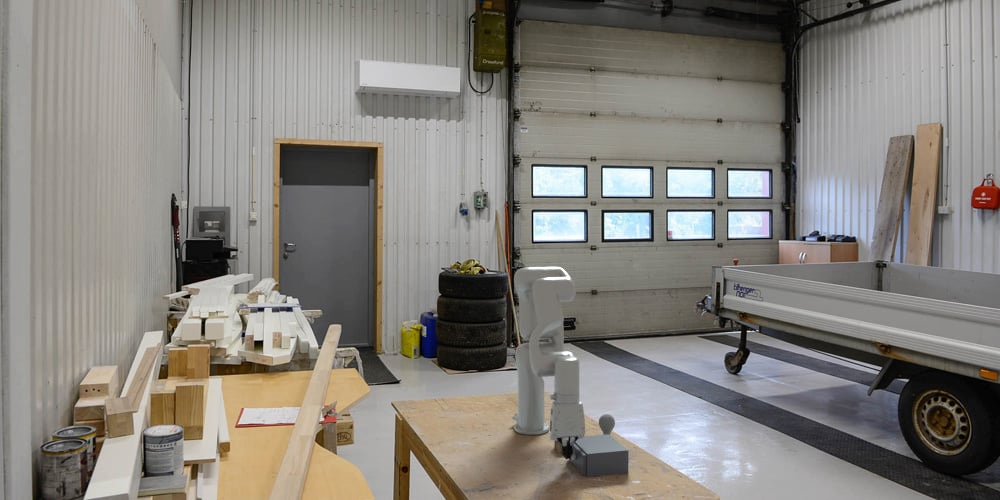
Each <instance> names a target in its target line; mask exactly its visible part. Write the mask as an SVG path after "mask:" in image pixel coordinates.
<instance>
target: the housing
mask: <svg viewBox="0 0 1000 500" xmlns="http://www.w3.org/2000/svg"><path fill="white" fill-rule="evenodd" d="M575 444H576V445H577V446H578V447H579V448H580V449H581V450H582V451H583V452H584V453H585V454H586V475H584V477H586V478H594V477H604V476H607V477H608V476H614V475H615V476H616V475H625V474H629V449H628V448H627V447H625V446H624V445H623V444H622V443H621V442H619V441H618V440H617V439H616V438H614V437H613V436H612V435H611V433H610V434H607V435H603V434H597V435H596V434H595V435H584V437H583V438H580V439H578V440H577V441H576V442H575Z"/></svg>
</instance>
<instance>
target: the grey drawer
mask: <svg viewBox="0 0 1000 500" xmlns="http://www.w3.org/2000/svg"><path fill="white" fill-rule="evenodd" d="M567 442H568V439H567ZM567 460H568V461H569V462H570V463H571V464H572V465H573V466H574V467H575V468H576V469H577V470H578V471H579V473H581V474H582V476H584V477H585V475H586V454H585V453H584V452H583V451H582V450H581V449H580V448H579V447H578V446H577V445H576V444H575V443H574V445H573V455H571V459H569V458H568V459H567Z"/></svg>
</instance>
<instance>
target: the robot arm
mask: <svg viewBox="0 0 1000 500" xmlns="http://www.w3.org/2000/svg"><path fill="white" fill-rule="evenodd" d="M513 277H514V278H513V282H514V287H515V290H516V294H517V298H518V303H519V305H518V308H519V310H518V311H519V313H518V319H519V320H518V321H519V322H518V323H519V324H518V327H519V328H518V329H519V335H520V336H521V337H522V339H524V340H529V342H526V343H525V342H524V343H521V344H519V345H518V346H517V347H516V349H515V352H514V353H515V354H514V355H515V362H516V369H517V397H518V398H517V402H518V403H517V405H518V407H517V409H518V411H517V412H516V413H514V415H513V416H512V417H511V419H512V420H513V421H516V423H515V425H514V426H513V429H514V431H515V432H517V433H518V434H522V435H529V436H534V435H535V436H537V435H542V434H546V433H547V432H548V431H550V433H549V434H550V435H549V439H550V440H551V441H554V440H556V441H559V442H560V443H561V444H562V453H561V456H563V458H564V459H565V460H569V459H571V455H573V445H574V443H575V442H576V441H577V440H578V439H580V438H583V437H584V436H585V434H586V422H585V421H586V419H585V411H584V405H583V402H582V401H581V400H580V360H579V359H578V358H577V357H576V356H575V355H574V353H573V352H571V351H568V350H567V351H564V344H565V343H564V340H565V339H564V336H565V335H564V320H565V318H564V314H563V309H562V304H561V303H567V302H568V303H569V302H572V301H573V300H575V297H576V295H577V294H576V286H575V283H574V280H573V279H572V276H570V275H569V274H568V272H567V271H566V270H565V269H564V268H562V267H560V266H528V267H521V268H519V269H517V270H516V272H515V274H514V276H513ZM546 339H547V340H549V341H541V342H540V340H546ZM544 377H545V378H548V377H554V380H553V381H554V386H553V387H554V389H553V390H554V391H553V393H552V394H550V395H549V399H550V400H552V403H551V409H550V416H549V417H550V418H549V425H548V424H547V423H545V421H546V420H545V419H546V418H545V381H544ZM566 437H568V442H567V443H566ZM568 458H569V459H568Z"/></svg>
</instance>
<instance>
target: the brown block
mask: <svg viewBox="0 0 1000 500" xmlns="http://www.w3.org/2000/svg"><path fill="white" fill-rule="evenodd" d="M567 439H568V437H566V443H567ZM553 442H554V446H553V447H554V449H555V450H556V451H557V453H559V454H562V444H561V443H560V442H559V441H556V440H553Z"/></svg>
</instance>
